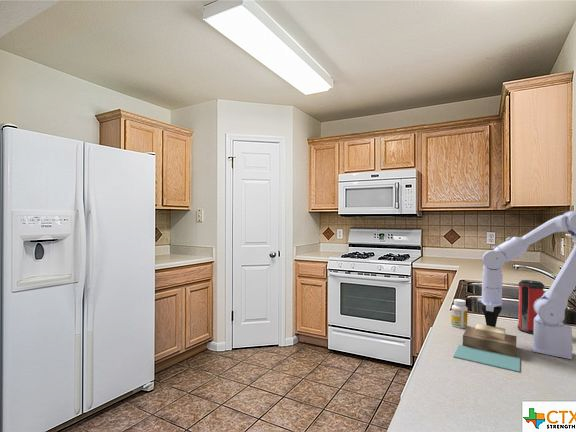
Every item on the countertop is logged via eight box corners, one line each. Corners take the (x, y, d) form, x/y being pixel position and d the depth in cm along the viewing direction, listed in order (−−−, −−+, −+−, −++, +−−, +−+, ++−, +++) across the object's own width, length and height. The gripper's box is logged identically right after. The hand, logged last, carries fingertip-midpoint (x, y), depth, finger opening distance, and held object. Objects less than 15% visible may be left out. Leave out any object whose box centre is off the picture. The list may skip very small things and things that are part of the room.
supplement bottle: (463, 324, 131) (464, 298, 131) (469, 328, 126) (470, 302, 126) (449, 323, 132) (449, 298, 132) (454, 328, 126) (455, 301, 126)
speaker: (543, 336, 119) (544, 284, 119) (516, 331, 124) (518, 281, 124) (543, 330, 125) (544, 281, 125) (518, 326, 130) (519, 278, 130)
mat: (519, 358, 100) (519, 357, 100) (519, 372, 91) (519, 371, 91) (459, 345, 109) (459, 344, 109) (453, 357, 100) (453, 356, 100)
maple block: (505, 334, 110) (505, 328, 110) (504, 340, 105) (504, 333, 105) (476, 329, 114) (476, 323, 114) (474, 334, 109) (474, 328, 109)
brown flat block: (516, 347, 109) (516, 336, 109) (515, 357, 100) (516, 345, 100) (466, 337, 117) (467, 327, 117) (462, 346, 108) (462, 335, 108)
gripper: (480, 282, 121) (479, 320, 121) (475, 289, 109) (474, 331, 109) (504, 285, 117) (503, 324, 117) (501, 292, 105) (500, 336, 105)
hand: (490, 328), depth 113 cm, fingers closed
